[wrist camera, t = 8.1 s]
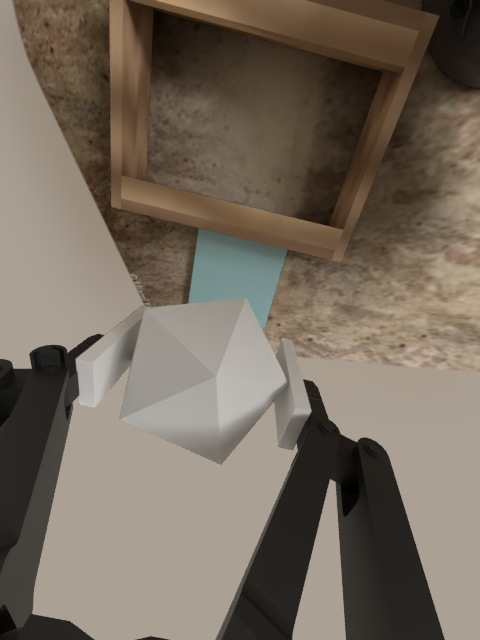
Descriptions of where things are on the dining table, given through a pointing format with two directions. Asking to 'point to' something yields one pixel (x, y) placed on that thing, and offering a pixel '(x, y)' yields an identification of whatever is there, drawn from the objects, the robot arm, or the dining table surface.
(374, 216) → the dining table surface
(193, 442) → the die
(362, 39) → the wooden tray
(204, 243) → the pad
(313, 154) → the dining table surface
